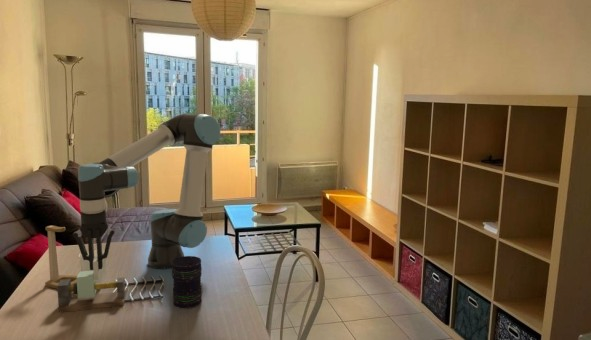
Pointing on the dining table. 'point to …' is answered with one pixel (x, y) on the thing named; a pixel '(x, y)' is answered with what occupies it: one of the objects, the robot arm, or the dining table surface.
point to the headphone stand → (55, 259)
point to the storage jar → (187, 282)
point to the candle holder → (86, 267)
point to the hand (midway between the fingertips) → (96, 278)
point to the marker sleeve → (86, 284)
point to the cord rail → (97, 301)
